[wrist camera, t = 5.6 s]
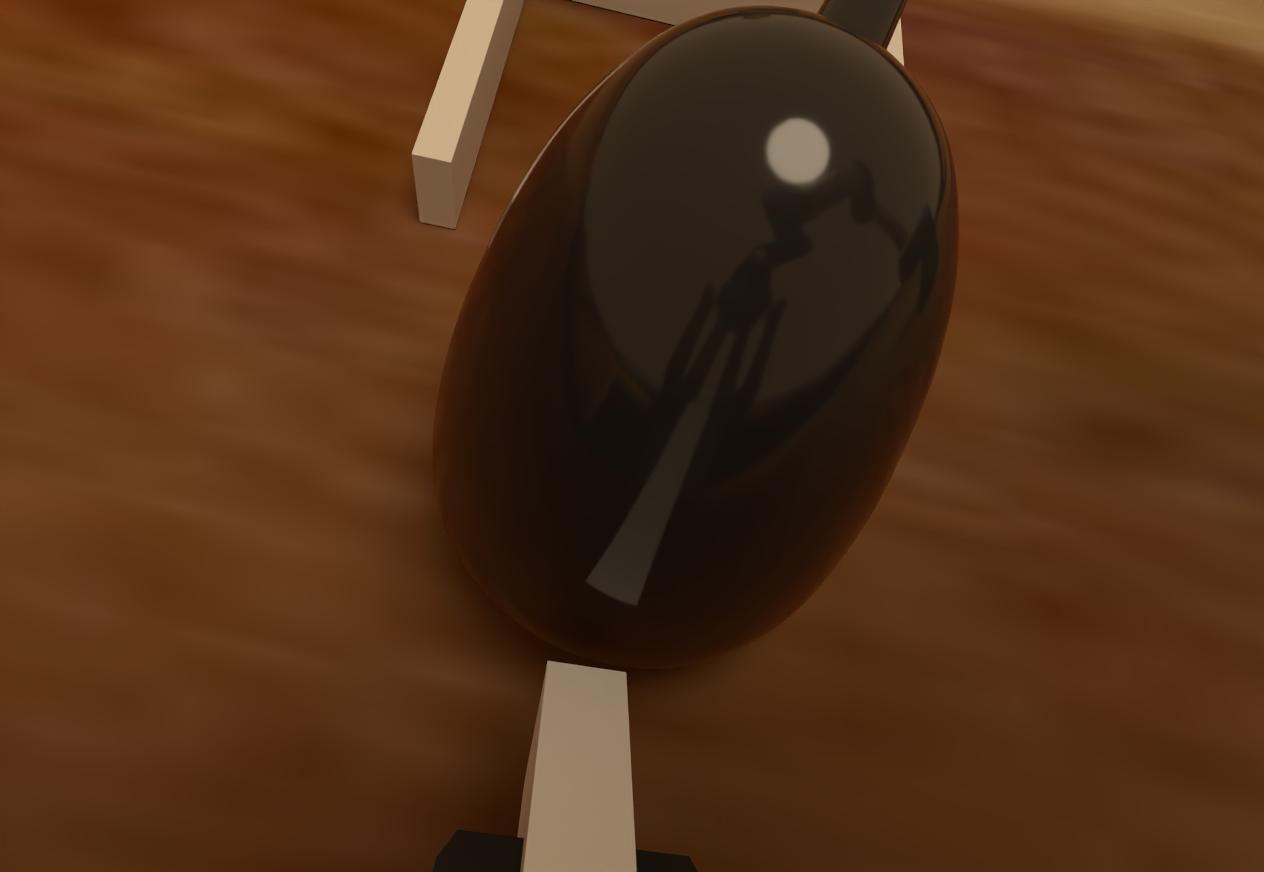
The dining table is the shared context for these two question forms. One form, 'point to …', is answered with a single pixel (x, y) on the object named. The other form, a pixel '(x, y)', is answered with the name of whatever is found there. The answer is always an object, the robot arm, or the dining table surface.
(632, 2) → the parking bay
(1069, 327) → the dining table surface
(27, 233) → the dining table surface
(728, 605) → the black tall rounded piece
